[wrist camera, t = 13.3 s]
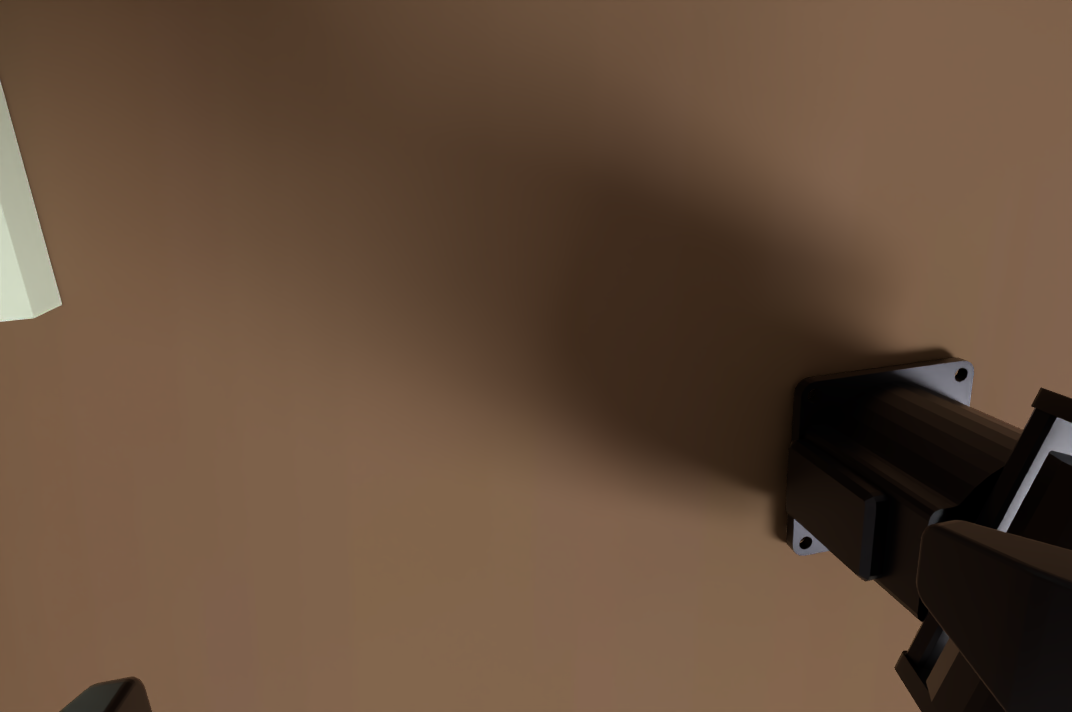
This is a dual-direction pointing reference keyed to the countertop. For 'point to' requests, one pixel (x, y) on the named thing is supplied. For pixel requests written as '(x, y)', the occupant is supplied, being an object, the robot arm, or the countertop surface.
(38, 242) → the green pad
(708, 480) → the countertop surface
